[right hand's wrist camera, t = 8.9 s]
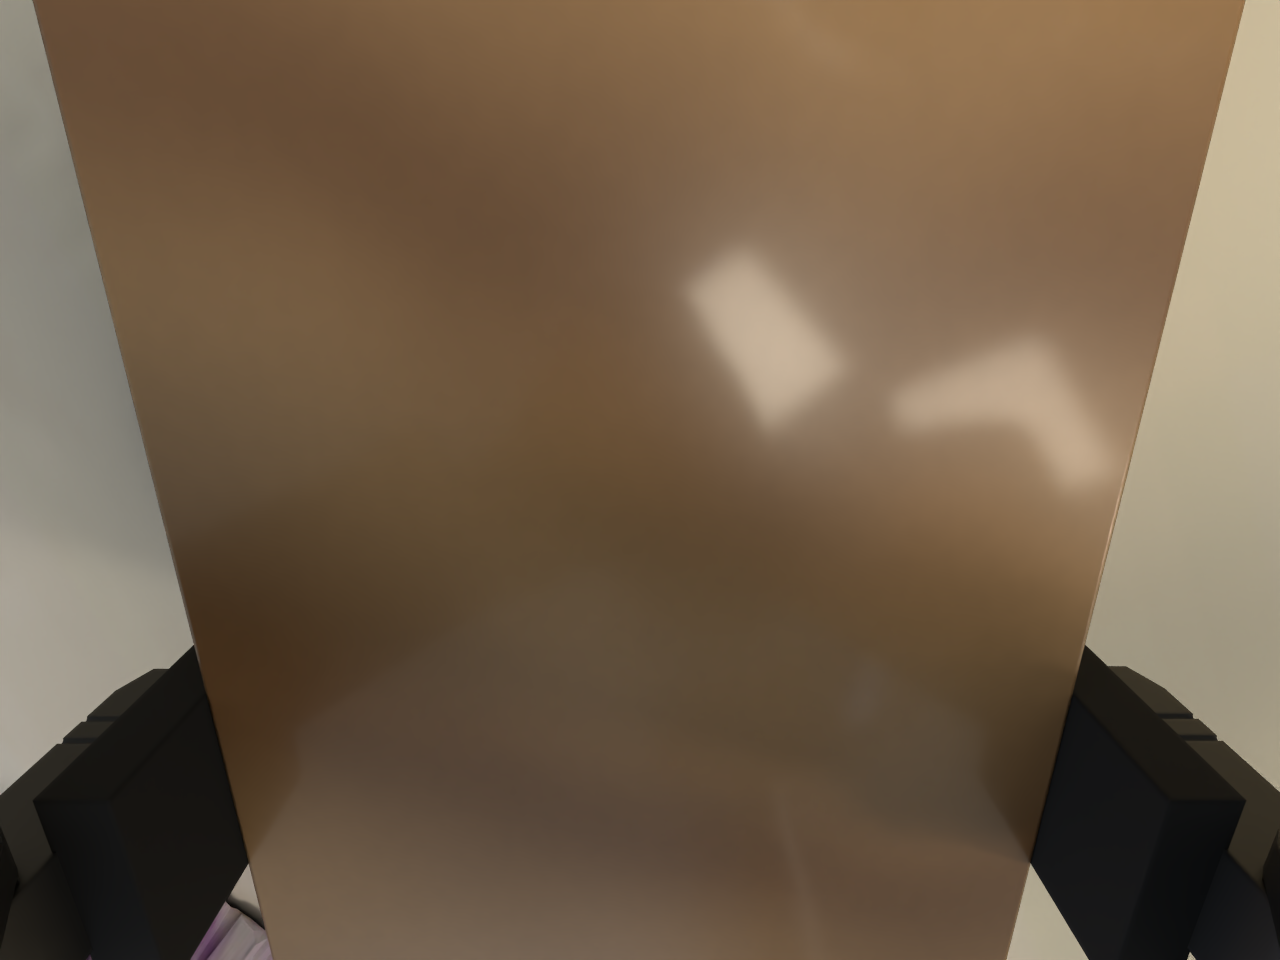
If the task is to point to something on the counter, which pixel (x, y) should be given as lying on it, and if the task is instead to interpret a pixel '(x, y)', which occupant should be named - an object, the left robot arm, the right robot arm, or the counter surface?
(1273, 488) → the counter surface
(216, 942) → the figurine
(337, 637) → the cabinet
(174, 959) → the right robot arm
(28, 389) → the counter surface
